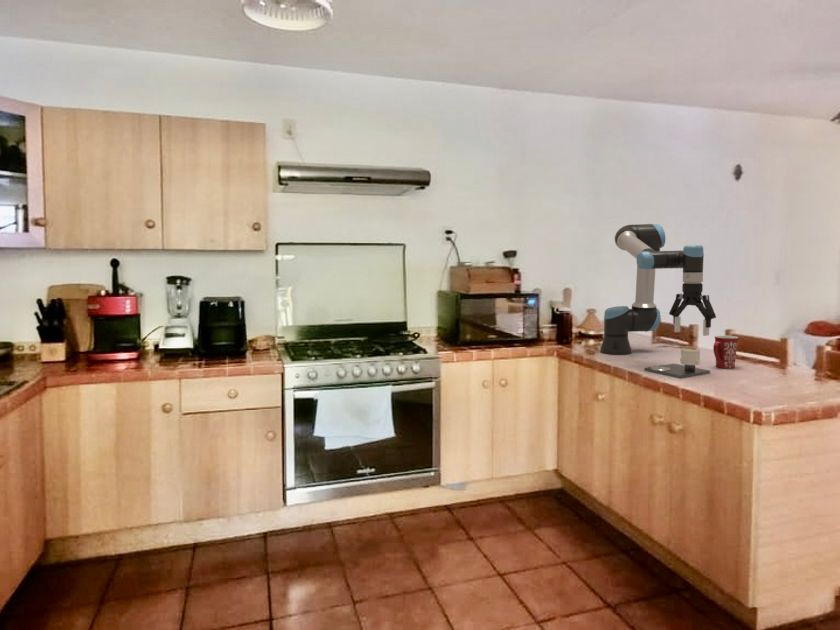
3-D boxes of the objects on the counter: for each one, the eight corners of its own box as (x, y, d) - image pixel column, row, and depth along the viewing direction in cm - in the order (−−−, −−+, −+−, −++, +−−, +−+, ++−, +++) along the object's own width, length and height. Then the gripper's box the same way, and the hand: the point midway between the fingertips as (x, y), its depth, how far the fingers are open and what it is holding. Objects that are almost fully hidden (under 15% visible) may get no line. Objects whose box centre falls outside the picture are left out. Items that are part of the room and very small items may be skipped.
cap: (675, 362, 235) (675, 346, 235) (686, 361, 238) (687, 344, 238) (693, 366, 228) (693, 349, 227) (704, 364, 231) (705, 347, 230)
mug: (721, 364, 250) (722, 334, 248) (741, 367, 242) (742, 336, 240) (703, 367, 244) (704, 337, 242) (723, 371, 236) (724, 339, 234)
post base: (644, 370, 240) (644, 350, 239) (673, 366, 248) (674, 346, 247) (680, 378, 224) (680, 356, 223) (710, 373, 232) (710, 352, 231)
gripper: (661, 282, 239) (660, 331, 241) (714, 283, 217) (712, 337, 219) (673, 281, 242) (672, 330, 244) (726, 283, 220) (725, 336, 222)
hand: (691, 333), depth 231 cm, fingers open, 13 cm apart
